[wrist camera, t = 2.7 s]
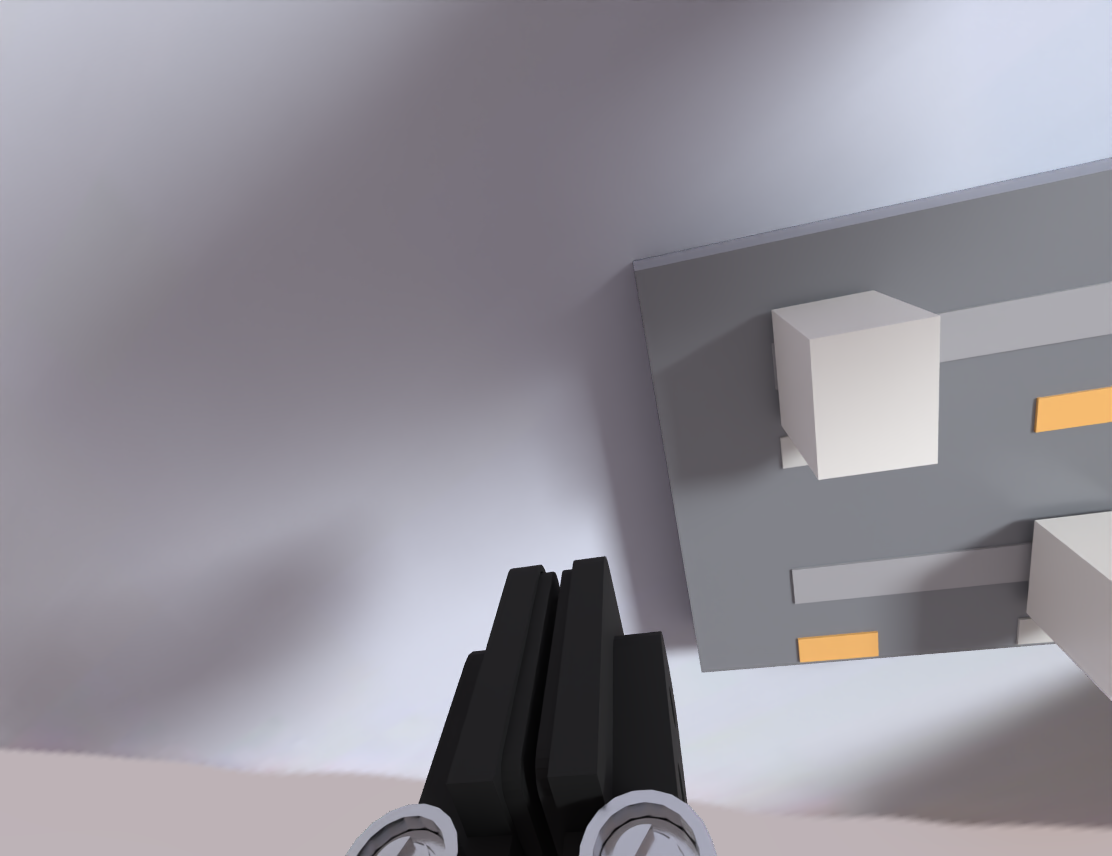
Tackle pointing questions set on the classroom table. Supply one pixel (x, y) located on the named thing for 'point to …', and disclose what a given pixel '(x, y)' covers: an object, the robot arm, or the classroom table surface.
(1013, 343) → the switch box
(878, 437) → the switch
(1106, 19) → the classroom table surface
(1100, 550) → the switch
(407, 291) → the classroom table surface
